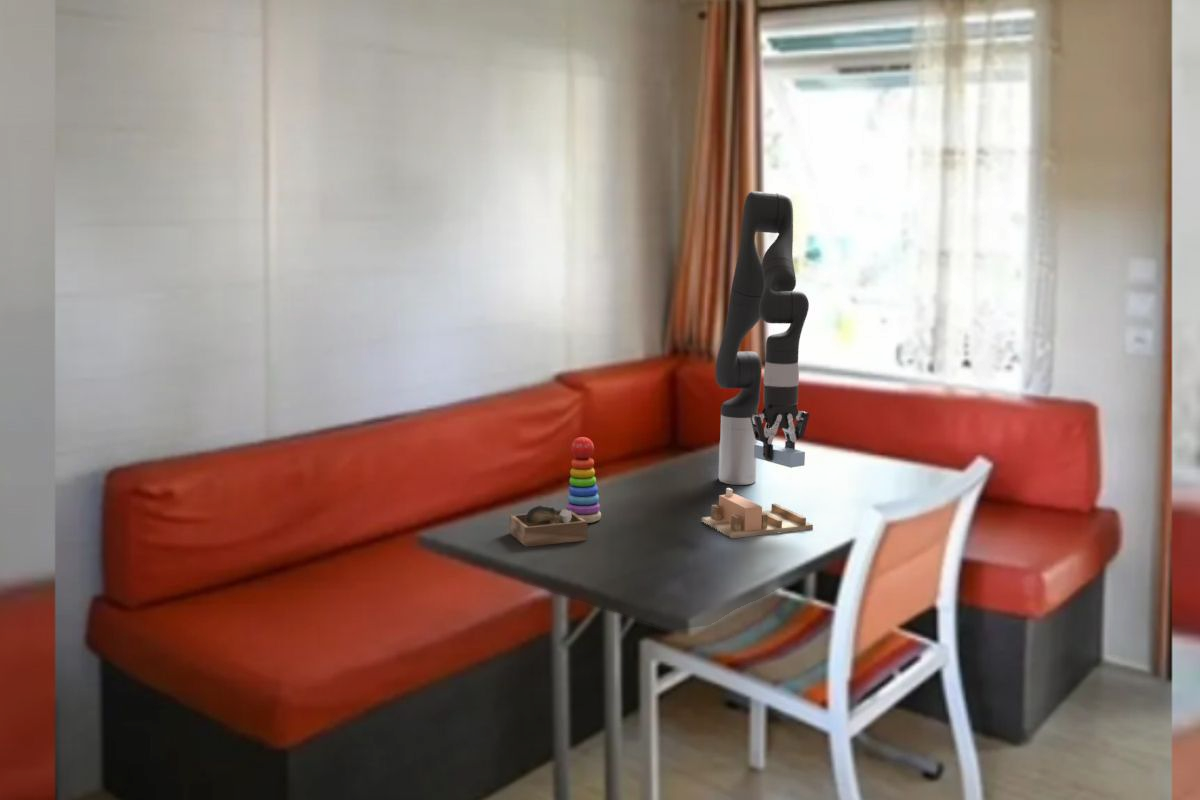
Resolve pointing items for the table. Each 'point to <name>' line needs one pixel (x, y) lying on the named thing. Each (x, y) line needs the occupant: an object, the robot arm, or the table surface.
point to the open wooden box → (547, 530)
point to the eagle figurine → (548, 515)
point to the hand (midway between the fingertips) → (778, 458)
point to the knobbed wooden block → (740, 510)
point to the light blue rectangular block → (782, 455)
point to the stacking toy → (583, 482)
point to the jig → (771, 522)
